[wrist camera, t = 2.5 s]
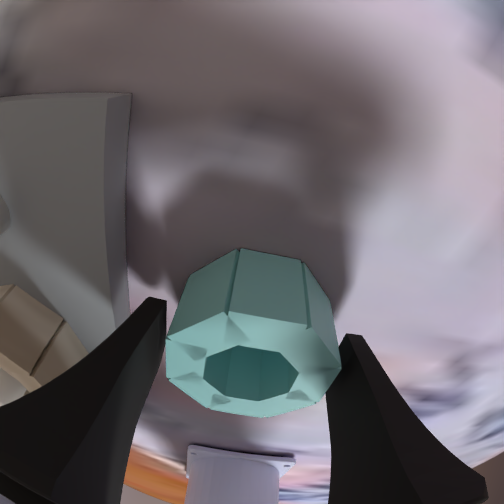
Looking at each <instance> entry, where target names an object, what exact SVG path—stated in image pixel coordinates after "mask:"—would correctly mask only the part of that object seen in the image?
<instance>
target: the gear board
mask: <svg viewBox="0 0 504 504" xmlns="http://www.w3.org/2000/svg"><path fill="white" fill-rule="evenodd" d="M131 100H132V94H131V93H105V92H69V93H44V94H29V95H18V96H8V97H0V286H3V285H10V284H14V286H16V285H17V286H18V287H19V288H21V289H22V290H23V291H25V292H26V293H28V294H29V295H30V296H32V297H33V298H34V299H36V300H37V301H39V302H40V303H42V304H43V305H44V306H46V307H47V308H49V309H50V310H52V311H53V312H55V313H56V314H58V315H59V316H61V317H62V318H64V319H63V322H68V324H69V325H70V327H71V328H72V330H73V331H74V333H75V334H76V336H77V337H78V339H79V340H80V341H81V343H82V344H83V346H84V347H85V349H86V350H87V351H88V353H90V352H91V351H92V350H94V349H95V348H96V347H97V346H98V345H99V344H101V343H102V342H103V341H104V340H105V339H106V338H107V337H109V336H110V335H111V334H112V333H113V332H114V331H115V330H116V329H117V328H118V327H119V326H120V325H121V324H122V323H123V322H124V321H125V320H126V319H127V318H128V317H129V316H130V306H129V294H128V280H127V261H126V229H125V195H126V163H127V145H128V131H129V119H130V109H131ZM26 390H27V389H26V388H25V387H24V386H23V385H22V384H21V383H20V382H19V381H18V380H17V379H15V378H14V377H12V376H11V375H10V374H8V373H7V372H6V371H4V370H3V369H2V368H0V406H3V405H5V404H8V403H10V402H12V401H15V400H17V399H19V398H21V397H23V395H24V393H25V391H26Z"/></svg>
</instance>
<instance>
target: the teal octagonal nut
mask: <svg viewBox="0 0 504 504" xmlns="http://www.w3.org/2000/svg"><path fill="white" fill-rule="evenodd" d="M340 370H341V360H340V354H339V348H338V342H337V336H336V330H335V325H334V319H333V314H332V309H331V304H330V300H329V299H328V297H327V296H326V294H325V293H324V291H323V290H322V288H321V287H320V285H319V284H318V282H317V281H316V279H315V278H314V276H313V275H312V273H311V272H310V270H309V269H308V267H307V266H306V264H305V263H302V264H301V260H298V259H293V258H288V257H283V256H278V255H273V254H268V253H263V252H258V251H253V250H248V249H243V248H241V250H240V252H239V251H238V250H237V249H235V250H233V251H232V252H230V253H228V254H226V255H224V256H223V257H221V258H219V259H217V260H215V261H214V262H212V263H210V264H208V265H207V266H205V267H203V268H201V269H199V270H198V271H196V272H194V273H192V274H191V275H190V277H189V278H188V280H187V283H186V286H185V288H184V291H183V293H182V296H181V299H180V301H179V304H178V307H177V309H176V312H175V315H174V318H173V320H172V323H171V326H170V328H169V331H168V334H167V337H166V377H167V378H168V380H169V381H170V382H171V383H173V384H174V385H175V386H177V387H178V388H179V389H181V390H182V391H183V392H185V393H186V394H187V395H189V396H190V397H191V398H193V399H194V400H196V401H197V402H198V403H200V404H201V405H203V406H204V407H205V408H209V407H210V410H215V411H221V412H227V413H233V414H239V415H246V416H253V417H260V418H263V417H264V416H265V417H267V418H268V417H272V416H276V415H279V414H283V413H287V412H290V411H294V410H297V409H301V408H304V407H307V406H311V405H314V404H316V402H319V401H320V400H321V398H322V397H323V395H324V394H325V393H326V391H327V390H328V388H329V387H330V385H331V384H332V382H333V381H334V379H335V378H336V376H337V375H338V373H339V372H340Z"/></svg>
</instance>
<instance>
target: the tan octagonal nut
mask: <svg viewBox="0 0 504 504" xmlns="http://www.w3.org/2000/svg"><path fill="white" fill-rule="evenodd" d="M63 319H64V318H62V317H61V316H59V315H58V314H56V313H55V312H53V311H52V310H50V309H49V308H47V307H46V306H44V305H43V304H42V303H40V302H39V301H37V300H36V299H34V298H33V297H32V296H30V295H29V294H28V293H26V292H25V291H23V290H22V289H21V288H19V287H18V286H17V285H16V286H14V284H10V285H3V286H0V368H2V369H3V370H4V371H6V372H7V373H8V374H10V375H11V376H12V377H14V378H15V379H17V380H18V381H19V382H20V383H21V384H22V385H23V386H24V387H25V388H26V389H27V390H26V391H25V393H24V395H23V396H25V395H26V394H28V393H30V392H32V391H34V390H36V389H38V388H40V387H41V386H43V385H45V384H47V383H48V382H50V381H51V380H53V379H54V378H56V377H57V376H59V375H61V374H62V373H64V372H65V371H67V370H68V369H69V368H71V367H72V366H73V365H75V364H76V363H78V362H79V361H80V360H81V359H83V358H84V357H85V356H87V355H88V354H89V353H88V351H87V350H86V349H85V347H84V346H83V344H82V343H81V341H80V340H79V339H78V337H77V336H76V334H75V333H74V331H73V330H72V328H71V327H70V325H69V324H68V322H63Z"/></svg>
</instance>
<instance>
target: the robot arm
mask: <svg viewBox="0 0 504 504" xmlns="http://www.w3.org/2000/svg"><path fill="white" fill-rule="evenodd" d="M166 311H167V301H166V300H162V299H157V298H153V297H148V298H146V299H145V301H144V302H143V303H142V304H141V305H140V306H139V307H138V308H137V309H136V310H135V311H134V312H133V313H132V314H131V315H130V316H129V317H128V318H127V319H126V320H125V321H124V322H123V323H122V324H121V325H120V326H119V327H118V328H117V329H116V330H115V331H114V332H113V333H112V334H111V335H110V336H109V337H107V338H106V339H105V340H104V341H103V342H102V343H101V344H99V345H98V346H97V347H96V348H95V349H94V350H92V351H91V352H90V353H89V354H88V355H87V356H85V357H84V358H83V359H81V360H80V361H79V362H78V363H76V364H75V365H73V366H72V367H71V368H69V369H68V370H67V371H65V372H64V373H62V374H61V375H59V376H57V377H56V378H54V379H53V380H51V381H50V382H48V383H47V384H45V385H43V386H41V387H40V388H38V389H36V390H34V391H32V392H30V393H28V394H26V395H25V396H23V397H21V398H19V399H17V400H15V401H12V402H10V403H8V404H5V405H3V406H0V504H120V500H121V494H122V487H123V482H124V477H125V471H126V467H127V462H128V457H129V453H130V448H131V444H132V440H133V436H134V432H135V428H136V425H137V422H138V419H139V416H140V414H141V411H142V408H143V406H144V403H145V401H146V398H147V396H148V393H149V391H150V388H151V386H152V383H153V381H154V378H155V376H156V373H157V371H158V368H159V365H160V362H161V358H162V355H163V351H164V347H165V344H166ZM338 348H339V354H340V360H341V370H340V372H339V373H338V375H337V376H336V378H335V379H334V381H333V382H332V384H331V385H330V387H329V388H328V390H327V391H326V403H327V412H328V422H329V431H330V441H331V479H330V491H329V500H328V504H481V503H483V502H485V501H486V500H487V499H488V492H487V487H486V482H485V478H484V477H483V476H481V475H480V474H479V473H477V472H476V471H474V470H473V469H471V468H470V467H468V466H467V465H466V464H464V463H463V462H462V461H461V460H459V459H458V458H457V457H456V456H455V455H453V454H452V453H451V452H450V451H449V450H448V449H447V448H446V447H445V446H443V445H442V444H441V443H440V442H439V441H438V440H437V439H436V438H435V437H434V435H433V434H432V433H431V432H430V431H429V430H428V429H427V428H426V427H425V426H424V424H423V423H422V422H421V421H420V420H419V419H418V417H417V416H416V415H415V414H414V412H413V411H412V410H411V409H410V407H409V406H408V405H407V403H406V402H405V400H404V399H403V398H402V396H401V395H400V394H399V392H398V391H397V389H396V388H395V386H394V385H393V383H392V382H391V380H390V379H389V377H388V376H387V374H386V373H385V371H384V369H383V368H382V366H381V365H380V363H379V361H378V360H377V358H376V357H375V355H374V354H373V352H372V350H371V349H370V347H369V346H368V344H367V343H366V341H365V340H364V338H363V337H362V335H355V334H347V333H346V335H345V337H344V338H343V340H342V342H341V344H340V345H339V347H338ZM295 464H296V459H294V458H287V457H274V456H264V455H254V454H246V453H238V452H231V451H225V450H219V449H213V448H207V447H202V446H197V445H189V446H188V450H187V468H186V477H187V478H189V481H188V486H187V492H186V497H185V503H184V504H278V502H279V479H280V478H281V477H282V476H283V475H284V474H285V473H286V472H287V471H288V470H289V469H291V468H292V467H293V466H294V465H295Z"/></svg>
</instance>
